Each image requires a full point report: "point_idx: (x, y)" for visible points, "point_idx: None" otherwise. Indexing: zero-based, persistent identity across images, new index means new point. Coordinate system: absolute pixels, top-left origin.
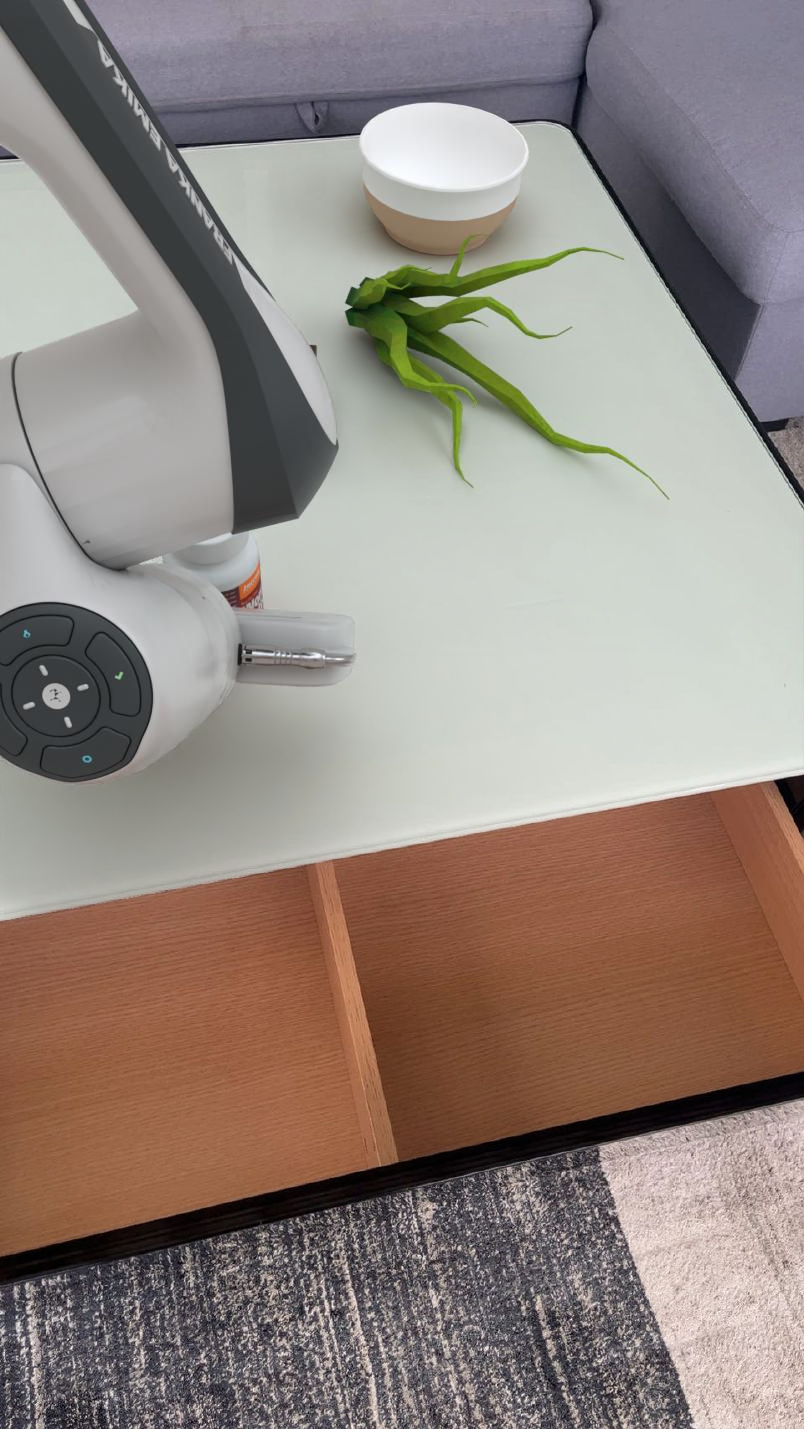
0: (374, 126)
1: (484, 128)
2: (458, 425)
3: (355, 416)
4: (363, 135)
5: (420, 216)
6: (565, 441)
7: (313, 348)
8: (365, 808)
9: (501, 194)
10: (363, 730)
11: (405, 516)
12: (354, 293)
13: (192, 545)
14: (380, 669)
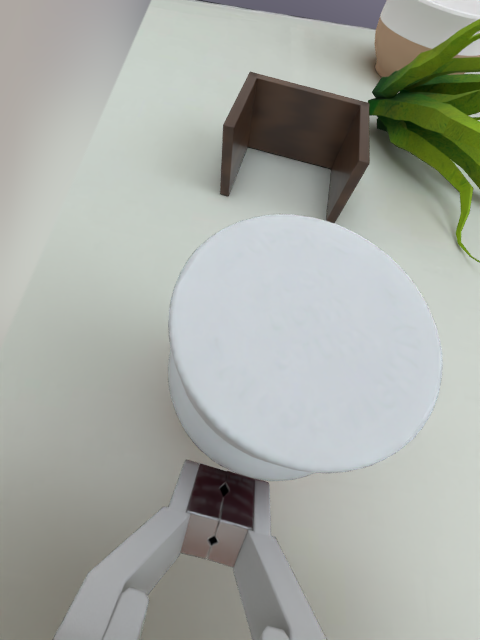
0: None
1: (466, 2)
2: (469, 206)
3: (368, 184)
4: None
5: (427, 45)
6: None
7: (367, 104)
8: None
9: None
10: (420, 622)
11: (422, 283)
12: (387, 80)
13: (259, 456)
14: (427, 495)
